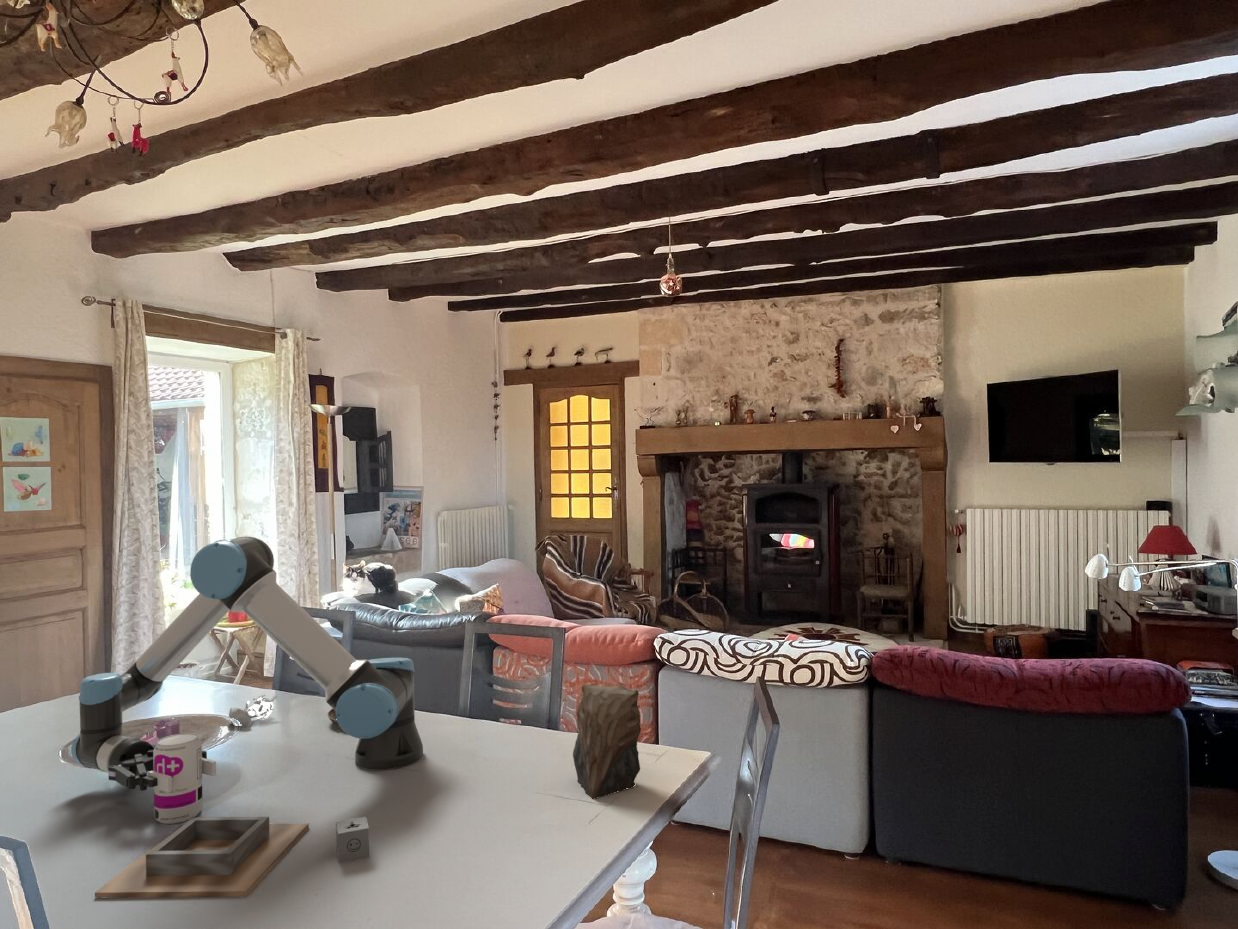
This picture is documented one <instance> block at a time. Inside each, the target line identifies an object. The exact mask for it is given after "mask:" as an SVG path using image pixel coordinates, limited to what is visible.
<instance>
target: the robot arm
mask: <svg viewBox="0 0 1238 929" xmlns="http://www.w3.org/2000/svg"><path fill="white" fill-rule="evenodd" d="M274 563H275V559H274V553H273V552H272V549H271V548H270V547H269V545H268V544H267V543H266V542H264V541H263V540H262V539H260V538H257V537H255V536H245V535H244V536H239V537H236V538H231V539H220V540H216V541H214V542H212V543H208V544H206V545H205V546H203V547H202V548H201V549H200V550H198V551H197V552H196V554H194V557H193V558H192V561H191V565H190V573H189V574H190V575H189V576H190V577H189V578H190V581H191V583H192V585H193V587H194V589H195V590H196V591H197V592H198V593H199V594H197V596H196V597H195V598H194V599H193V600H192V601H190V603H189V604H188V605H187V606H186V607H185V609H183V610H182V612H181V613H180V614H179V615H177V617H176V618H175V619H174V620H173V621H172V622H171V623H170V625H168V626H167V628H166V629H165V630H164V631H163V632H162V633H161V634H160V635H159V636H158V637H157V638H156V639H155V640H154V641H153V643H151V644H150V646H148V648H146V650H145V651H144V652H143V653H141V655H140V656H139V657H138V658H137V659H136V661H135V662H134V663H132V665H131V666H130V667H129V668H128V669H127V670H126V671H125V672H123V674H119V673H117V672H102V673H97V674H93V675H87V676H86V677H84V678H83V679H82V680H81V681H80V685H79V696H78V700H79V725H80V726H79V729H80V731H79V733H78V735H77V736H76V737H75V739H73V742H72V745H71V746H70V754H71V756H72V759H73V760H74V761H75V762H77V763H78V764H80V765H81V766H83V767H85V768H87V769H93V770H98V771H101V772H104V773H107V774H108V775H107V776H108V780H109V781H112V782H113V781H115V782H117V783H118V784H119V785H121V786H123V787H124V788H125V789H126V790H129V791H130V790H131V791H133V790H134V789H136V787H137V786H139V791H140V792H143V791H147V790H148V788H153V789H154V788H156V789H159V790H162V791H165V792H171V791H172V776H168V775H165V774H162V773H158V772H155V771H154V764H153V750H154V748H155V747H154V746H153V745H152V744H151V743H150V742H149V741H145V740H141V739H137V738H134V737H130V736H126V735H123V712H125V711H127V710H128V709H130V708H133V707H134V706H136V705H139V704H140V703H143V702H146V701H149V700H150V699H152V698H153V697H154V696H156V695H157V694H158V693H159V691H160V690H161V689H162V686H163V684H164V681H165V680H166V679H167V678H168V677H169V676H170V675H171V674H172V672H173V671H175V669H176V668H177V667H178V666H179V665H180V664H181V663H182V662H183V661H184V660H185V659H186V658H187V656H188V655H189V654H190V653H191V652H193V651H194V649H195V648H196V647H197V646H198V645H199V644H200V643H201V642H202V641H203V640H204V639H205V638H206V637H207V635H208V634H209V633H210V632H212V630H213V629H214V628H215V627H216V626H217V625H218V624H219V623H220V622H221V620H222V619H223V618H225V617H226V615H227V614H229V612H232V613H244V614H245V615H246V616H247V617H248V618H250V620H252V622H254V623H255V625H257V626H258V627H259V628H260V629H261V630H262V632H264V633H265V634H266V635H267V636H268V637H269V638H270V639H271V640H272V641H273V642H274V643H276V645H277V646H279V648H280V649H282V650H283V652H285V653H286V654H287V655H288V656H289V657H290V658H291V659H292V660H293V661H294V662H295V663H296V664H297V665H298V666H299V667H300V668H302V670H304V671H305V672H306V674H308V675H309V676H310V678H312V679H313V680H314V681H315V682H316V683H317V684H318V685H319V686H320V687H321V688H322V689H323V690H324V692H325V700H324V701H325V702H326V703H327V704H328V705H329V707H330V708H331V709H334V710H335V711H336V719H337V722H338V724H339V726H340V727H341V728H340V727H339V728H340V729H341V730H342V731H343V732H344V733H346V734H347V735H348V736H351V737H353V738H356V739H358V742H357V745H356V749H355V752H354V764H355V765H356V766H357V767H359V768H361V769H365V770H371V771H372V770H373V771H385V770H394V769H399V768H403V767H407V766H410V765H413V764H415V763H417V762H418V761H420V760H422V758H423V756H424V746H423V742H422V738H421V736H420V734H419V730H418V728H417V725H416V721H415V716H416V715H415V713H416V712H415V672H416V671H415V667H414V661H413V660H412V659H411V658H408V657H383V658H373V659H372V658H371V659H356V658H355V656H353V655H352V654H351V653H350V652H348V650H347V649H346V648H345V647H344V646H342V644H340V642H338V641H337V639H335V638H334V636H332V635H331V634H330V633H329V632H328V631H327V630H326V629H325V628H324V627H323V626H322V625H321V624H320V623H319V622H317V621H316V619H314V618H313V617H312V616H311V614H309V613H308V612H307V610H305V609H304V608H303V607H302V606H301V605H300V604H299V603H298V602H296V600H294V598H293V597H291V596H290V595H289V593H287V592H286V591H285V590H284V588H282V587H281V586H280V585H279V584H278V583H277V572H276V570H274V565H275V564H274ZM203 774H204V775H206V776H209V777H214V776H217V761H215V760H213V759H208V751H206V750H202V775H203Z"/></svg>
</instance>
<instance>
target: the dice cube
mask: <svg viewBox="0 0 1238 929" xmlns="http://www.w3.org/2000/svg"><path fill="white" fill-rule="evenodd" d="M335 836H336V837H335V839H336V841H335V842H336V847H335V848H336V855H337V861H338V864H341V863H345V862H351V861H356V860H361V859H365V858H370V828H369V824H368V820H367V816H363V817H357V818H352V819H345V820H340V821H336V822H335Z"/></svg>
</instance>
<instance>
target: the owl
mask: <svg viewBox="0 0 1238 929" xmlns="http://www.w3.org/2000/svg"><path fill="white" fill-rule="evenodd" d="M581 691H582V696H581V698H580V701H579V702H580V703H579V704H578V705H577V710H576V717H577V718H576V723H577V728H578V733H577V736H576V740H575V744H574V748H573V752H572V757H573V763H574V767H575V772H576V775H577V777H576V778H577V780H576V782H577V783H578V784H579V785H580V787H581V788H582V789H583V790H584V792H585V795H587V796H588V795H589V796H590V797H591V798H592V799H591V798H590V797H589V796H588V797H589V798H590V799H591V800H595V799H594V798H596V799H598V798H597V797H599V798H602V797H606V796H609V795H608V794H610V795H612V794H615V793H614V792H616V793H618V792H617V791H620V792H622V791H625V790H627V789H626V788H631V787H633V786H634V785H635V783H636V782H635V781H636V778H637V776H638V774H639V773H640V771H641V765H640V759H639V751H638V740H639V738H640V735H641V733H642V732H641V729H642V727H641V713H640V710H639V706H638V699H639V698H638V697H639V690H636V689H635V690H631V689H630V688H627V687H626V686H624V685H613V686H609V685H606V686H601V685H600V686H598V685H595V684H586V683H585V684H582V686H581ZM633 788H634V787H633ZM624 789H625V790H624ZM631 789H632V788H631ZM611 793H612V794H611ZM605 795H606V796H605Z"/></svg>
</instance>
